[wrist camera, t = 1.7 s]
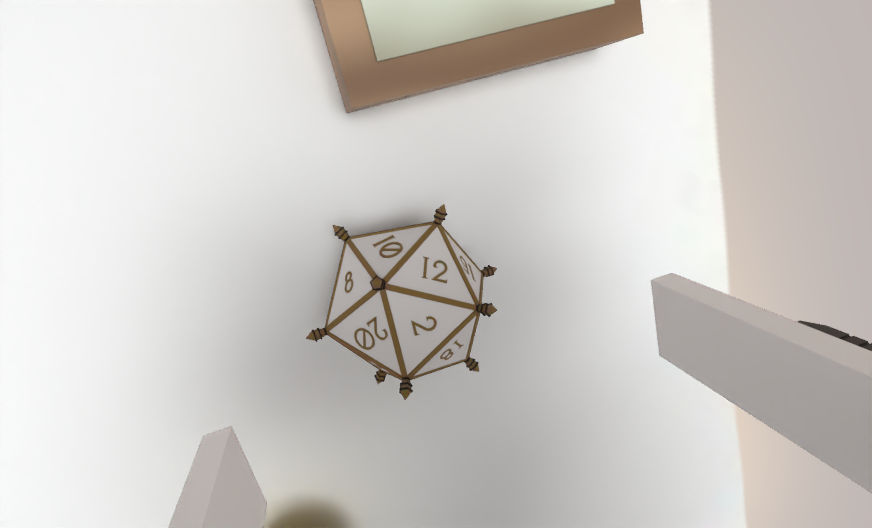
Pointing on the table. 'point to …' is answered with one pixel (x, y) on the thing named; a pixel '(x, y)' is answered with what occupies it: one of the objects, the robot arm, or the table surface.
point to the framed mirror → (458, 40)
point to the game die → (406, 300)
